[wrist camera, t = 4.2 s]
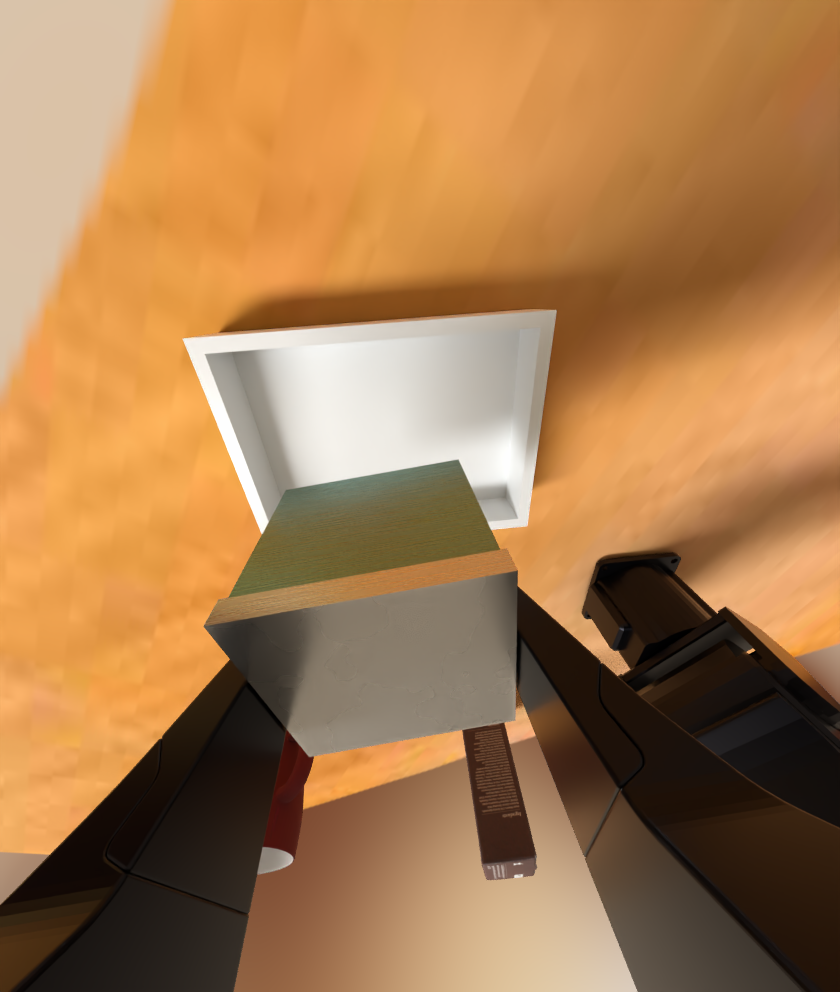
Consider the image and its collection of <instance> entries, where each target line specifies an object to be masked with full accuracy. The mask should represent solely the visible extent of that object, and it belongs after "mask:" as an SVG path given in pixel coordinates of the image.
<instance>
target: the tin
mask: <svg viewBox="0 0 840 992" xmlns="http://www.w3.org/2000/svg"><path fill="white" fill-rule="evenodd" d="M517 583H518V570H517V568H516V566H515V564H514V562H513V560H512V558H511V556H510V554H509V552H508V550H507V549H502V550H500V548H499V546H498V544H497V542H496V540H495V537H494V535H493V533H492V531H491V529H490V527H489V524H488V522H487V520H486V518H485V516H484V514H483V511H482V509H481V507H480V505H479V503H478V501H477V498H476V496H475V494H474V492H473V490H472V488H471V485H470V483H469V481H468V479H467V477H466V475H465V472H464V470H463V468H462V466H461V464H460V462H459V459H458V460H452V461H447V462H441V463H435V464H430V465H424V466H418V467H413V468H407V469H401V470H396V471H390V472H385V473H379V474H373V475H368V476H362V477H356V478H351V479H345V480H340V481H334V482H328V483H323V484H317V485H311V486H306V487H300V488H295V489H289V490H286V491H285V493H284V494H283V496H282V498H281V500H280V502H279V504H278V506H277V508H276V509H275V511H274V513H273V515H272V517H271V519H270V521H269V523H268V524H267V526H266V528H265V530H264V532H263V534H262V536H261V538H260V539H259V541H258V543H257V545H256V547H255V549H254V551H253V553H252V554H251V556H250V558H249V560H248V562H247V564H246V566H245V568H244V569H243V571H242V573H241V575H240V577H239V579H238V581H237V582H236V584H235V586H234V588H233V590H232V592H231V594H230V596H229V597H228V598H225V599H220V600H218V602H217V603H216V605H215V607H214V609H213V610H212V612H211V614H210V616H209V618H208V619H207V621H206V623H205V625H204V628H205V629H206V630H207V631H208V632H209V634H210V635H211V636H212V637H213V639H214V640H215V641H216V642H217V644H218V645H219V646H220V647H221V649H222V650H223V651H224V652H225V653H226V655H227V656H228V657H229V658H230V660H231V661H232V662H233V663H234V665H235V666H236V667H237V668H238V670H239V671H240V672H241V673H242V675H243V676H244V677H245V678H246V679H247V681H248V682H249V683H250V684H251V686H252V687H253V688H254V689H255V691H256V692H257V693H258V694H259V696H260V697H261V698H262V699H263V700H264V702H265V703H266V704H267V705H268V707H269V708H270V709H271V710H272V712H273V713H274V714H275V715H276V717H277V718H278V719H279V720H280V722H281V723H282V724H283V725H284V726H285V728H286V729H287V730H288V731H289V733H290V734H291V735H292V736H293V738H294V739H295V740H296V741H297V743H298V744H299V745H300V746H301V747H302V749H303V750H304V751H305V752H306V754H307V755H308V756H309V757H312V756H318V755H323V754H329V753H335V752H340V751H346V750H352V749H357V748H363V747H369V746H374V745H380V744H386V743H391V742H397V741H403V740H408V739H414V738H419V737H425V736H431V735H436V734H442V733H448V732H453V731H459V730H465V729H470V728H476V727H482V726H487V725H493V724H499V723H504V722H510V721H515V712H516V647H517Z"/></svg>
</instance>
